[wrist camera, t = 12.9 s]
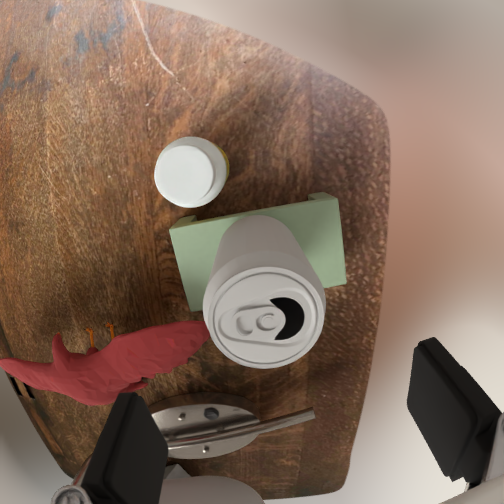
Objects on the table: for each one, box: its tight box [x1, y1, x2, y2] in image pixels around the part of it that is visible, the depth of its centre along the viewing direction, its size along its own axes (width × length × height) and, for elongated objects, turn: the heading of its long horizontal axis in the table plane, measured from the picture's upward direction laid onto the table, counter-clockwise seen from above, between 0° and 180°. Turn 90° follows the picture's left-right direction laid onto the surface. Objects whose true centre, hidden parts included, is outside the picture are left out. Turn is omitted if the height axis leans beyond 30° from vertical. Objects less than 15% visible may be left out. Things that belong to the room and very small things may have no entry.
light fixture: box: [71, 392, 316, 504], centre depth 28 cm, size 11×22×34 cm
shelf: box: [169, 192, 347, 312], centre depth 29 cm, size 14×8×5 cm, turn 100°
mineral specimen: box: [163, 464, 191, 480], centre depth 39 cm, size 7×9×8 cm
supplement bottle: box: [154, 137, 229, 208], centre depth 25 cm, size 5×5×10 cm
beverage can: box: [203, 215, 326, 369], centre depth 21 cm, size 6×6×12 cm
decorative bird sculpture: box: [0, 321, 210, 406], centre depth 31 cm, size 28×9×15 cm
